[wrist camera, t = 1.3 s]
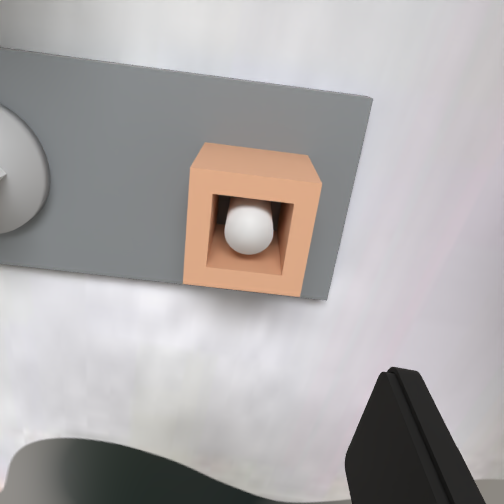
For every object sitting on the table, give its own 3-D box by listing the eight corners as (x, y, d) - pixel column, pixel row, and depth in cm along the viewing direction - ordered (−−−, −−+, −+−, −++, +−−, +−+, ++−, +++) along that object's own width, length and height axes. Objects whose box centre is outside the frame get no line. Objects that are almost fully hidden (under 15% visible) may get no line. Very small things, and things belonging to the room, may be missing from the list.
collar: (307, 155, 25) (322, 183, 19) (291, 248, 27) (300, 296, 22) (205, 142, 25) (190, 167, 19) (197, 237, 27) (182, 283, 22)
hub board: (366, 96, 25) (408, 112, 18) (323, 289, 30) (343, 357, 23) (-130, 30, 24) (-286, 20, 17) (-82, 243, 29) (-185, 301, 22)
